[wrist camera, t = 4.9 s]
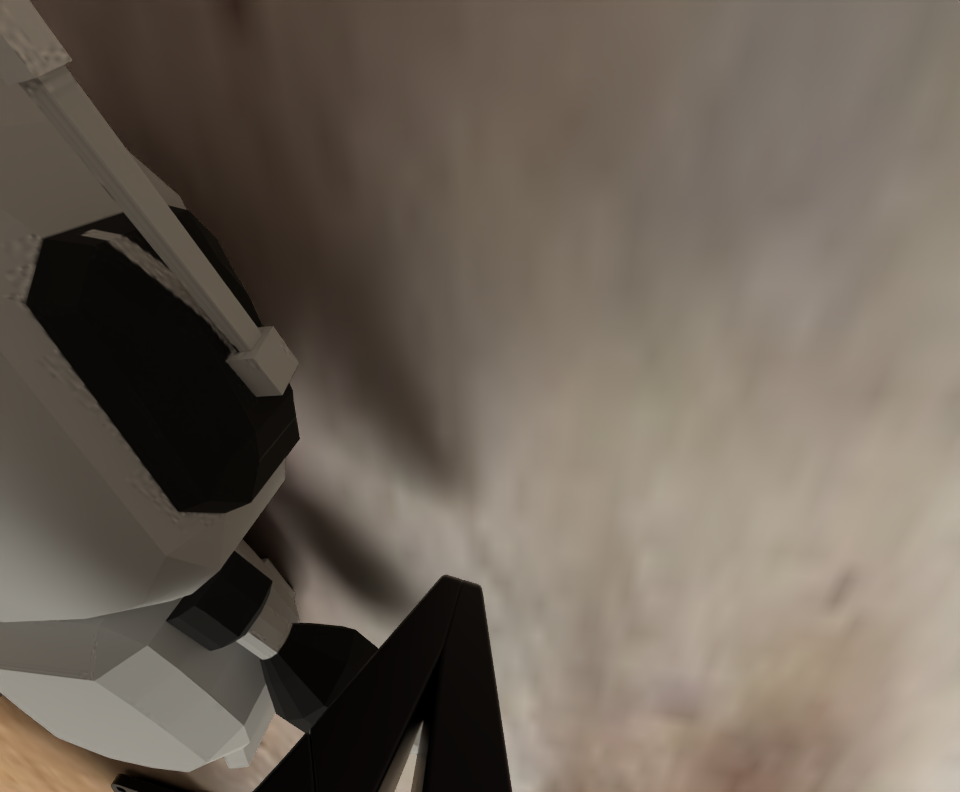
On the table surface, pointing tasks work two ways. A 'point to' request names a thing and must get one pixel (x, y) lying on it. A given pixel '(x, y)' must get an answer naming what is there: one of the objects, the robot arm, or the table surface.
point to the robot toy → (136, 452)
